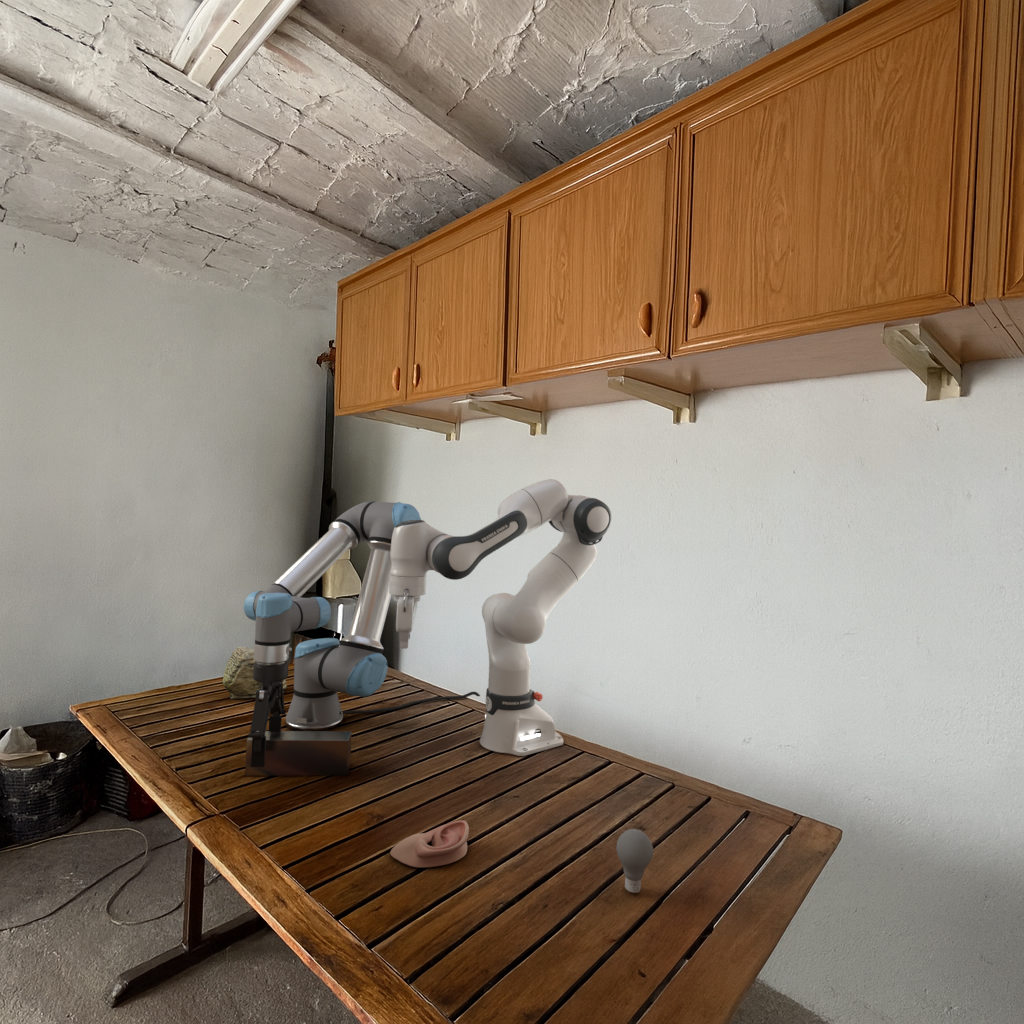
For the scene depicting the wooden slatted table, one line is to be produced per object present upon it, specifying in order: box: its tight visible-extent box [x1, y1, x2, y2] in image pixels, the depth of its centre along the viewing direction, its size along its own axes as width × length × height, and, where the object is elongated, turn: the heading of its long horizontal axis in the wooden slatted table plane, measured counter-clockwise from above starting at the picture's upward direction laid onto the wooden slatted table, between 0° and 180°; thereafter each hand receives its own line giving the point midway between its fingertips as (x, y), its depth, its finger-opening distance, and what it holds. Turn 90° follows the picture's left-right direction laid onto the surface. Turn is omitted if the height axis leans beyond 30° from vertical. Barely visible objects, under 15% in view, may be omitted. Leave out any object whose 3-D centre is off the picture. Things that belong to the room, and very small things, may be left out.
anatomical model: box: [389, 819, 470, 869], centre depth 115 cm, size 13×4×12 cm
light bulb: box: [615, 828, 654, 894], centre depth 106 cm, size 6×6×10 cm
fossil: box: [222, 646, 288, 699], centre depth 198 cm, size 9×18×15 cm, turn 132°
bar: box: [244, 730, 353, 777], centre depth 146 cm, size 22×6×8 cm, turn 96°
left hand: (266, 754), depth 145 cm, fingers open, 13 cm apart
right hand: (405, 643), depth 154 cm, fingers open, 8 cm apart
